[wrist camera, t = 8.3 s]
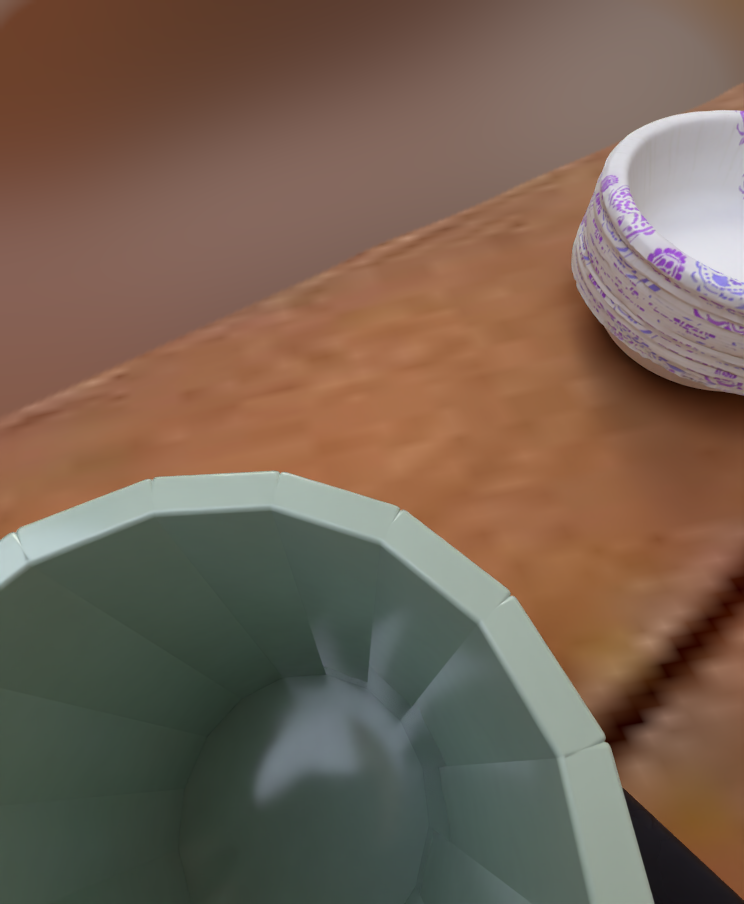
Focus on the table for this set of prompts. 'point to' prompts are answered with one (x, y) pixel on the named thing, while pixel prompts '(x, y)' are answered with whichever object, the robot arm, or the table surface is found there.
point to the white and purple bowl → (671, 249)
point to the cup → (287, 712)
